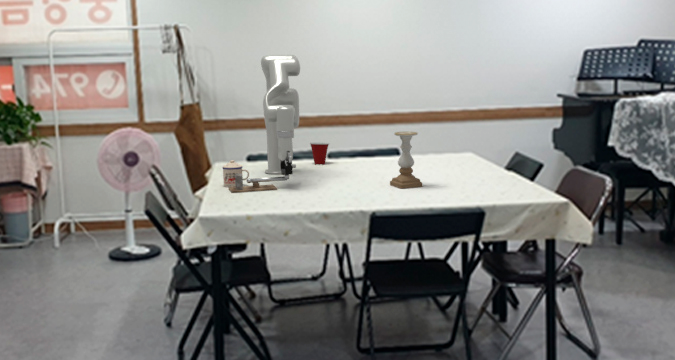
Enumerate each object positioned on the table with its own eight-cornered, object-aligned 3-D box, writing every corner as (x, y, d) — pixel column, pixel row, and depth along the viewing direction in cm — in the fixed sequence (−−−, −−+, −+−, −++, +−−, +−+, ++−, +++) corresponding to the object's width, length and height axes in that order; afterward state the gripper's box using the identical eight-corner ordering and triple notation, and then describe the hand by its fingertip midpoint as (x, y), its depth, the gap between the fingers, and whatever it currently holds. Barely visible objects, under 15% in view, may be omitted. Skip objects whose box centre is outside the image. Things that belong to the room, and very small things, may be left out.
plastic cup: (333, 163, 375) (333, 141, 373) (322, 166, 366) (322, 143, 364) (317, 162, 380) (316, 140, 378) (306, 164, 371) (305, 142, 369)
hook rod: (291, 179, 307) (290, 167, 306) (293, 181, 302) (293, 169, 301) (245, 182, 301) (245, 170, 300) (247, 184, 296) (247, 172, 296)
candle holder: (389, 185, 305) (389, 132, 301) (410, 183, 310) (410, 130, 306) (401, 188, 295) (401, 134, 291) (422, 186, 300) (423, 132, 296)
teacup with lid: (221, 187, 306) (220, 162, 304) (224, 183, 315) (223, 159, 313) (248, 187, 307) (247, 161, 305) (250, 183, 315) (249, 158, 314)
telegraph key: (272, 186, 308) (272, 170, 306) (277, 189, 298) (276, 174, 297) (228, 189, 302) (227, 173, 301) (231, 193, 293) (231, 177, 291)
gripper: (273, 132, 308) (274, 169, 311) (281, 137, 291) (282, 176, 295) (289, 132, 310) (290, 168, 313) (298, 136, 293) (299, 175, 297)
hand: (286, 172), depth 304 cm, fingers open, 9 cm apart
